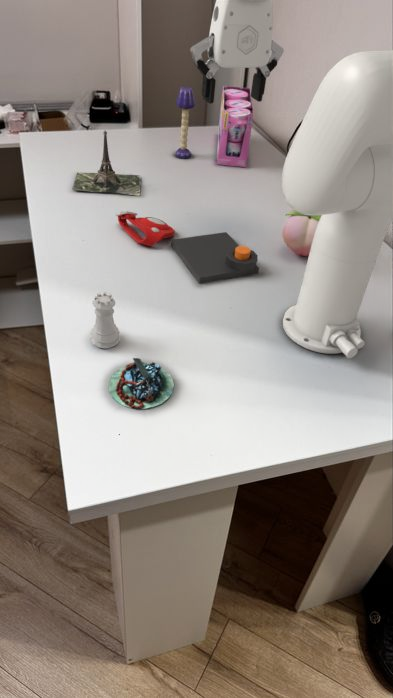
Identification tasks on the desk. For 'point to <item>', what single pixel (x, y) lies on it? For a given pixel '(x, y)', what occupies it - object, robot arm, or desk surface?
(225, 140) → the gum box
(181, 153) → the toy lamp
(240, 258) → the button
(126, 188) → the eiffel tower figurine
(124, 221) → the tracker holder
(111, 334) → the rook chess piece
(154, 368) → the dish
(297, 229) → the decorative fruit
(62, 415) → the desk surface
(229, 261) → the scale
